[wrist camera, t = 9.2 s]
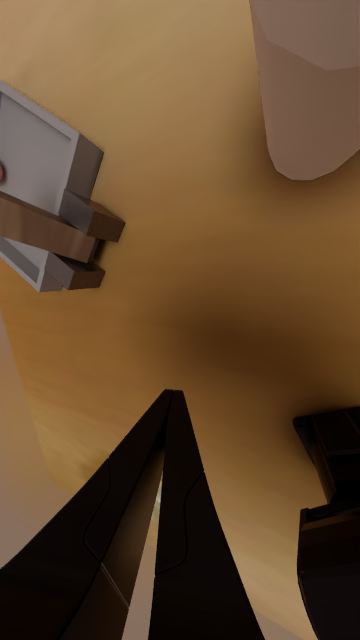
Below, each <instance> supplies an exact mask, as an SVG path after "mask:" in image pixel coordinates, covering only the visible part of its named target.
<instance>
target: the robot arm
mask: <svg viewBox="0 0 360 640" xmlns="http://www.w3.org/2000/svg"><path fill="white" fill-rule="evenodd" d="M292 422H293V426H294V428H295V430H296V432H297V434H298V435H299V437H300V439H301V441H302V443H303V445H304V447H305V449H306V450H307V452H308V454H309V456H310V458H311V460H312V462H313V464H314V465H315V467H316V469H317V472H318V475H319V478H320V482H321V485H322V488H323V491H324V494H325V497H326V500H327V503H328V504H326V505H322V506H319V507H315V508H312V509H308V508H305V509H301V510H300V525H299V540H298V555H297V576H298V584H299V588H300V592H301V596H302V600H303V603H304V606H305V609H306V612H307V615H308V618H309V620H310V623H311V625H312V628H313V630H314V633H315V635H316V637H317V639H318V640H360V407H357V408H351V409H345V410H339V411H334V412H328V413H322V414H316V415H310V416H305V417H299V418H295V419H293V421H292ZM297 423H300V424H297ZM162 471H163V478H162V490H161V502H160V515H159V527H158V539H157V551H156V564H155V578H154V588H153V600H152V609H151V618H150V627H149V635H148V640H265V639H264V636H263V634H262V631H261V629H260V627H259V624H258V622H257V619H256V617H255V614H254V612H253V609H252V607H251V604H250V602H249V599H248V597H247V594H246V591H245V589H244V586H243V583H242V581H241V578H240V575H239V573H238V570H237V567H236V564H235V562H234V559H233V556H232V554H231V551H230V548H229V546H228V543H227V540H226V538H225V535H224V532H223V530H222V527H221V524H220V521H219V518H218V515H217V512H216V510H215V507H214V503H213V500H212V497H211V493H210V490H209V486H208V483H207V479H206V475H205V473H204V468H203V464H202V461H201V457H200V453H199V449H198V446H197V442H196V438H195V434H194V430H193V427H192V423H191V419H190V415H189V412H188V408H187V404H186V400H185V397H184V393H183V391H182V390H171V389H165V390H164V391H163V392H162V393H161V394H160V396H159V397H158V398H157V399H156V400H155V402H154V403H153V404H152V405H151V406H150V408H149V409H148V410H147V411H146V412H145V414H144V415H143V416H142V417H141V418H140V420H139V421H138V422H137V423H136V424H135V426H134V427H133V428H132V429H131V430H130V432H129V433H128V434H127V435H126V436H125V438H124V439H123V440H122V441H121V442H120V444H119V445H118V446H117V447H116V448H115V450H114V451H113V452H112V453H111V454H110V456H109V458H107V459H106V460H105V462H104V463H103V464H102V465H101V466H100V468H99V469H98V470H97V471H96V472H95V473H94V475H93V476H92V477H91V478H90V479H89V480H88V481H87V483H86V484H85V485H84V486H83V487H82V488H81V489H80V490H79V491H78V492H77V493H76V494H75V495H74V496H73V497H72V499H71V500H70V501H69V502H68V503H67V504H66V505H65V506H64V507H63V508H62V509H61V510H60V511H59V512H58V513H57V514H56V515H55V516H54V517H53V518H52V519H51V520H50V521H49V522H48V523H47V524H46V525H45V526H44V527H43V528H42V529H41V531H39V532H38V533H37V534H36V535H35V536H34V537H33V539H31V541H30V542H29V543H28V544H27V545H26V546H25V547H24V548H23V549H22V550H21V551H20V552H19V553H18V554H17V555H16V556H14V557H13V558H12V559H11V560H10V561H9V562H8V563H7V564H5V565H4V566H3V567H2V568H1V569H0V640H122V636H123V632H124V628H125V623H126V619H127V615H128V611H129V608H128V607H129V606H130V603H131V599H132V594H133V590H134V586H135V582H136V578H137V574H138V569H139V566H140V562H141V557H142V553H143V549H144V545H145V541H146V537H147V533H148V529H149V525H150V521H151V516H152V512H153V508H154V504H155V500H156V496H157V492H158V488H159V484H160V480H161V475H162Z"/></svg>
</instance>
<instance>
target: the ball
mask: <svg viewBox="0 0 360 640" xmlns="http://www.w3.org/2000/svg"><path fill="white" fill-rule="evenodd" d="M2 177H3V170H2V167H1V166H0V180H1V179H2Z"/></svg>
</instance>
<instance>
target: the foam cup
mask: <svg viewBox="0 0 360 640" xmlns="http://www.w3.org/2000/svg"><path fill="white" fill-rule="evenodd" d="M249 2H250V10H251V18H252V26H253V34H254V42H255V50H256V58H257V66H258V74H259V82H260V90H261V98H262V106H263V114H264V122H265V130H266V138H267V146H268V151H269V156H270V158H271V160H272V162H273V165H274V167H275V169H276V171H278V172H279V173H281V174H282V175H284V176H286V177H287V178H289V179H290V180H313V179H316V178H318V177H321V176H323V175H325V174H328V173H330V172H333V171H335V170H336V169H337V168H339V167H340V166H341V165H342V164H343V163H344V162H346V161H347V160H348V159H349V158H350V157H351V156H353V155H354V154H355V153H356V152H357V151H358V150H359V149H360V0H249Z"/></svg>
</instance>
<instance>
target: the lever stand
mask: <svg viewBox="0 0 360 640" xmlns="http://www.w3.org/2000/svg"><path fill="white" fill-rule="evenodd" d="M58 214H59V215H61V216H62V217H63V218H65V219H66V220H67V221H68V222H70V223H71V224H72V225H73V226H75V227H76V228H77V229H78V230H80V231H81V232H82V233H84V234H85V235H86V236H91V237H95V238H99V239H104V240H108V241H113V242H118V239H119V237H120V235H121V232H122V230H123V227H124V225H125V222H124V221H122V220H121V219H120V218H118V217H117V216H115V215H114V214H113V213H111V212H110V211H109V210H107V209H106V208H105V207H103V206H102V205H101V204H99V203H96V202H94V201H92V200H90V199H87V198H85V197H83V196H81V195H79V194H76V193H74V192H72V191H70V190H68V189H65V188H64V192H63V196H62V200H61V204H60V208H59V212H58ZM44 270H46V271H47V272H48V273H49V274H50V275H51V276H52V277H54V278H55V279H56V280H57V281H58V282H59V283H60V284H61V285H63V286H64V287H65V288H66V289H67V290H75V289H86V288H97V287H99V286H100V283H101V281H102V278H103V276H104V273H105V271H104V270H102V269H101V268H100V267H99V266H98V265H96V264H95V263H94V262H93V261H91V262H88V261H87V263H85V262H82V261H79V260H75V259H72V258H69V257H66V256H62V255H59V254H56V253H53V252H48V256H47V260H46V264H45V268H44Z"/></svg>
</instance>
